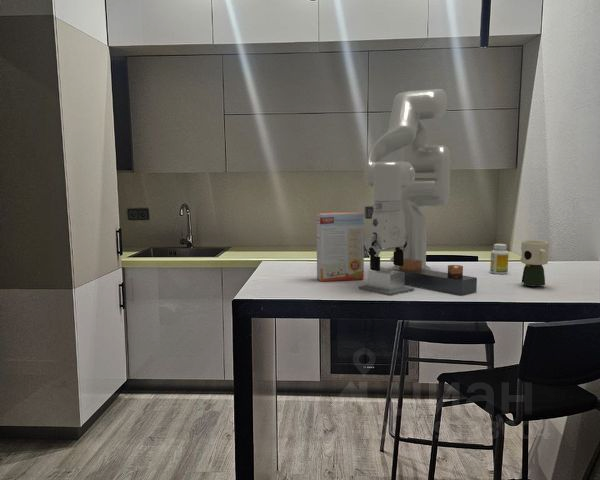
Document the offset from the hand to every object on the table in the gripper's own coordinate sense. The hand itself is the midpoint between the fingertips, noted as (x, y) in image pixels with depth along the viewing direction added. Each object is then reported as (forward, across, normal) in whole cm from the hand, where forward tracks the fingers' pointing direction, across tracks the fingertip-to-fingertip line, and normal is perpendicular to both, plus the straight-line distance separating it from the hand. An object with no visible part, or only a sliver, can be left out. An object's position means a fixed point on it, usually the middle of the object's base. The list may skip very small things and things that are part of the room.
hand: (387, 267), depth 140 cm
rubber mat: (+6, -1, 0) cm, 6 cm away
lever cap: (+5, -1, 0) cm, 5 cm away
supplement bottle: (+8, +48, -6) cm, 49 cm away
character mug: (+7, +35, -24) cm, 43 cm away
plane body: (+6, +12, -6) cm, 15 cm away
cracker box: (+7, 0, +20) cm, 21 cm away
